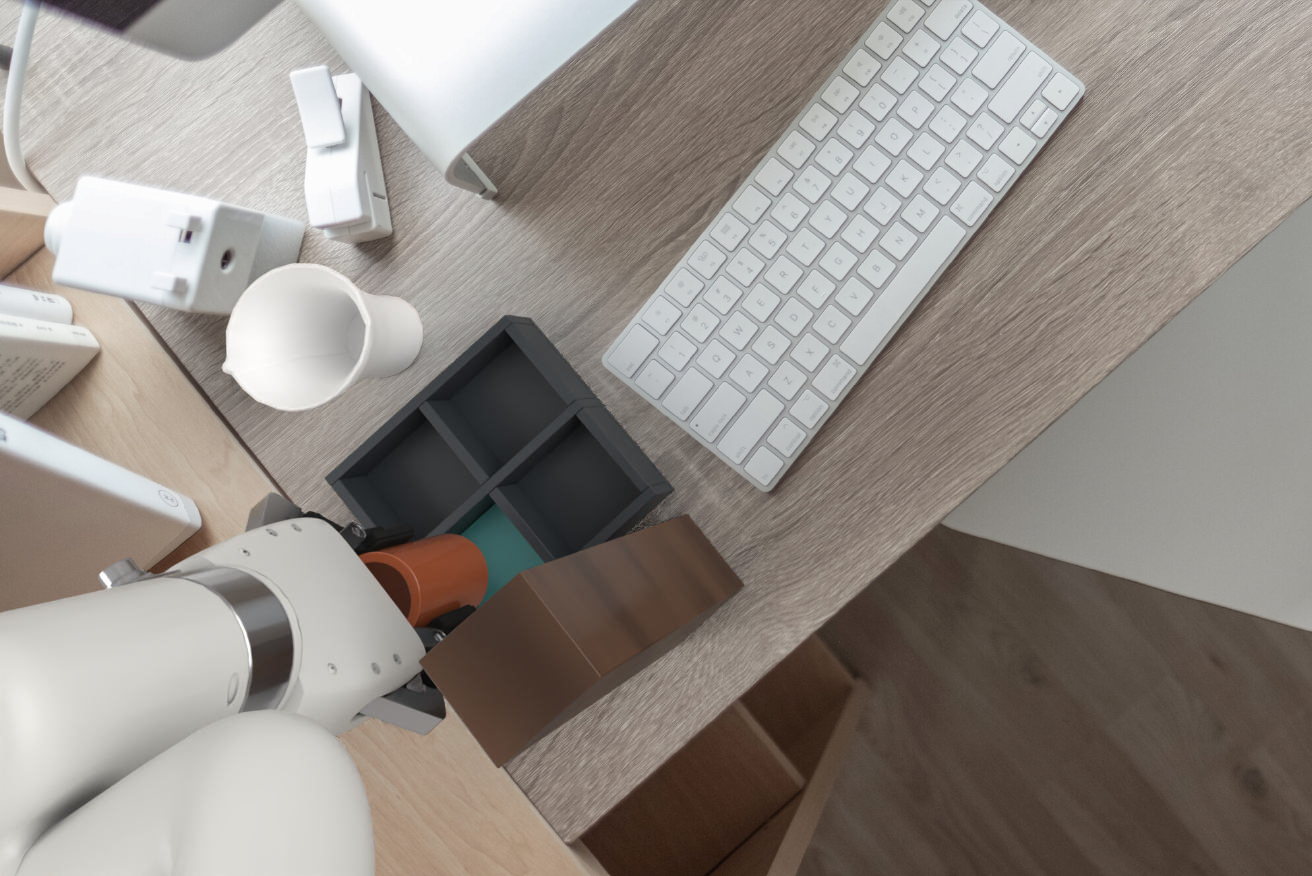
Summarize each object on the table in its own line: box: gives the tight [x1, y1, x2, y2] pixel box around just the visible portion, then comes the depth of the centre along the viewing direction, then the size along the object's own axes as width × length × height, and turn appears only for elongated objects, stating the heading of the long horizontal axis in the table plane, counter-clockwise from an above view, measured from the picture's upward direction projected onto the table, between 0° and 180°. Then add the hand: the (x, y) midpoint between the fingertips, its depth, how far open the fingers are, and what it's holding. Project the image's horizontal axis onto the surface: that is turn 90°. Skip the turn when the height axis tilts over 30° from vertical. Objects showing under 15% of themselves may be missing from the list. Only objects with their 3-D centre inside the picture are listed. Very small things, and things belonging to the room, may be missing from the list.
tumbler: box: [358, 534, 488, 627], centre depth 65 cm, size 5×5×8 cm
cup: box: [221, 262, 424, 413], centre depth 74 cm, size 9×9×10 cm
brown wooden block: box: [419, 513, 745, 769], centre depth 64 cm, size 6×6×24 cm
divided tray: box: [324, 314, 675, 609], centre depth 76 cm, size 15×15×4 cm
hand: (423, 586), depth 67 cm, fingers closed on tumbler, 5 cm apart
